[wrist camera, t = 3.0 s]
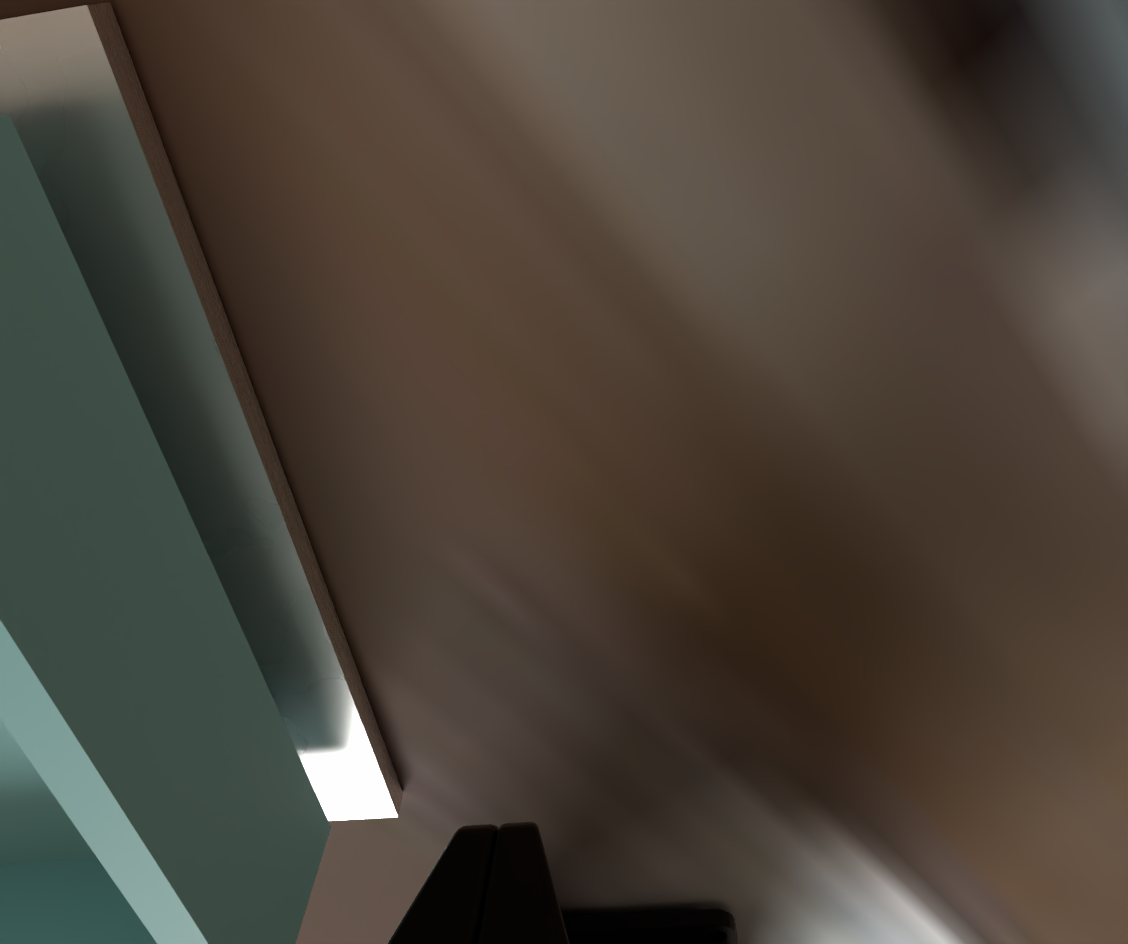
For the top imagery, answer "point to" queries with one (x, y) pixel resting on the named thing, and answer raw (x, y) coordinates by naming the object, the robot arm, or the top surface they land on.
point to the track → (191, 381)
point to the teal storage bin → (121, 652)
